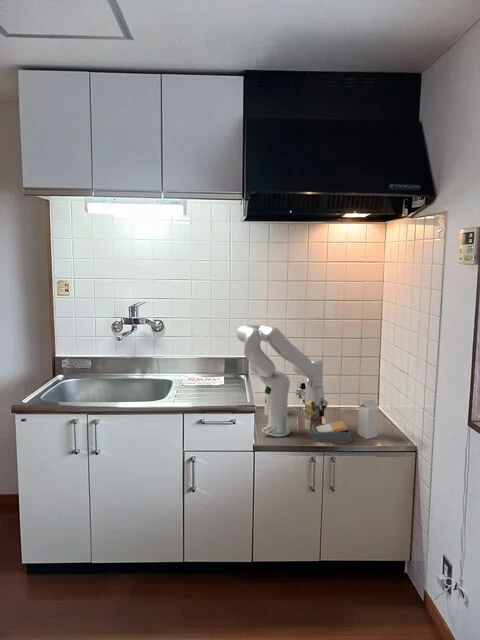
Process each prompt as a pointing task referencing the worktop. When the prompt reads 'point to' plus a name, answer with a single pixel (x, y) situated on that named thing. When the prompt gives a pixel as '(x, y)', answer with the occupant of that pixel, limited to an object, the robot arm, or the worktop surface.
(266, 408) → the travel mug
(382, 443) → the worktop surface
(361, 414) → the milk carton
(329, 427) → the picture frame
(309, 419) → the candy box
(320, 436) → the breaker housing
